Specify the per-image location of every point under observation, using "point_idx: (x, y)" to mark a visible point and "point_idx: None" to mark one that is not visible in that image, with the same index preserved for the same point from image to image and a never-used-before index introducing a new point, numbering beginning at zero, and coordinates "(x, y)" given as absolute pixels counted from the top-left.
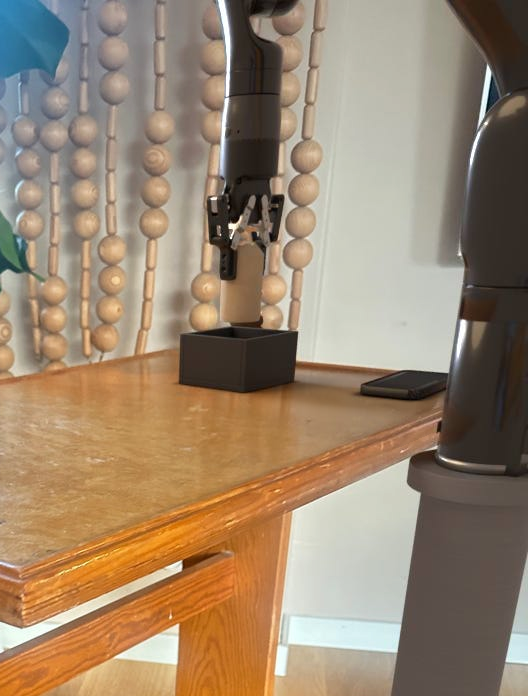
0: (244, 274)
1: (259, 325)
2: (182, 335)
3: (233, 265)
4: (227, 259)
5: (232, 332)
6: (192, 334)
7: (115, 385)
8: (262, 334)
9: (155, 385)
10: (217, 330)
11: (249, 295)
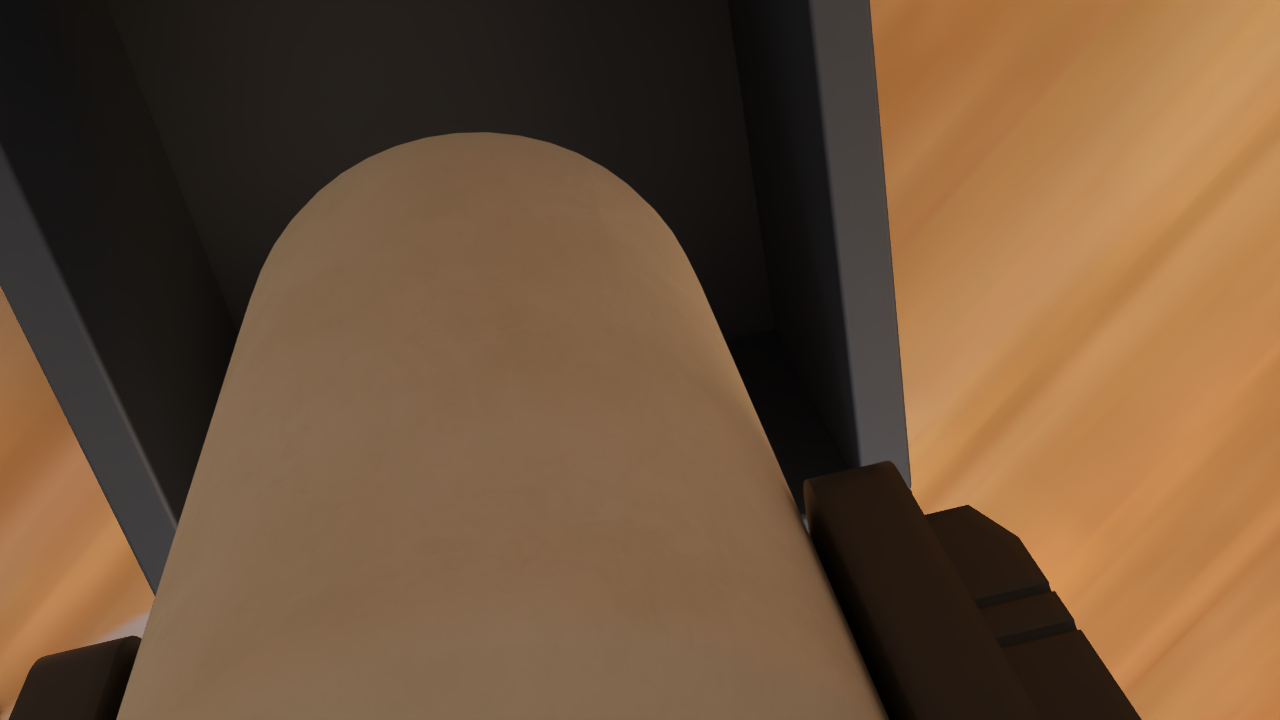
0: (710, 446)
1: None
2: None
3: (964, 587)
4: (1116, 696)
5: None
6: (876, 442)
7: (1106, 496)
8: (109, 328)
9: (949, 370)
10: None
11: (569, 259)
